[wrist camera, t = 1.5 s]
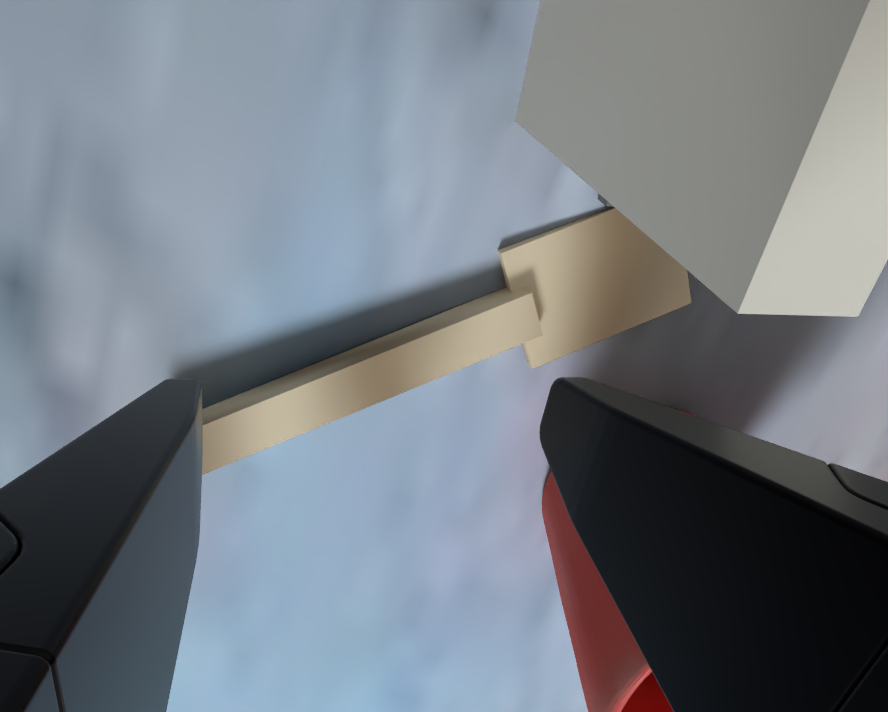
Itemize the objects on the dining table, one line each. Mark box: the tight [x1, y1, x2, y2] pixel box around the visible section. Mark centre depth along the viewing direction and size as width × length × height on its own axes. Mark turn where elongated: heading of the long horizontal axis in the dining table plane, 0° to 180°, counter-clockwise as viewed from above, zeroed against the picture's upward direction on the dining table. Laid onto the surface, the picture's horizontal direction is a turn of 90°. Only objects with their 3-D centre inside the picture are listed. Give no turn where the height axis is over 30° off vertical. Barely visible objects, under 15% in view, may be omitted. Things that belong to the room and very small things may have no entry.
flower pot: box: [542, 408, 699, 712], centre depth 26 cm, size 11×11×10 cm
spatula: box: [202, 207, 691, 475], centre depth 23 cm, size 18×4×1 cm, turn 105°
